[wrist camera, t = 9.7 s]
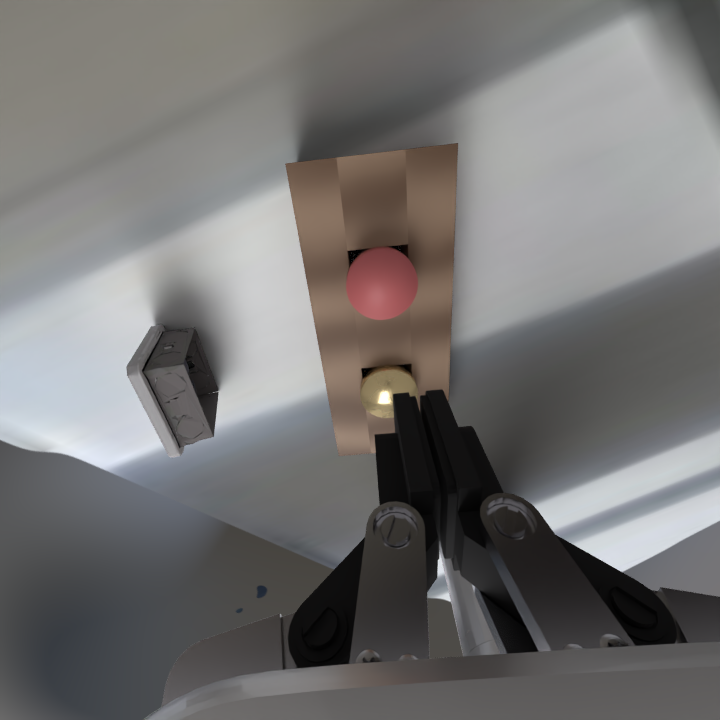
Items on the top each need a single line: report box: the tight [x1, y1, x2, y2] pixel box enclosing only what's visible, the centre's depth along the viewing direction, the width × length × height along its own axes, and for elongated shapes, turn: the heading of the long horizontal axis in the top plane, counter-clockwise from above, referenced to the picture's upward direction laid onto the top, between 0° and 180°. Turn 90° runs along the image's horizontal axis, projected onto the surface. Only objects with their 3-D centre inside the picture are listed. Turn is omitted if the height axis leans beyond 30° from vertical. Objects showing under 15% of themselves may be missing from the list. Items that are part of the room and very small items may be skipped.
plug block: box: [286, 143, 458, 456], centre depth 30 cm, size 26×11×5 cm, turn 6°
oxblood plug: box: [346, 246, 418, 320], centre depth 26 cm, size 5×5×6 cm
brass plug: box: [360, 364, 418, 418], centre depth 32 cm, size 5×5×6 cm
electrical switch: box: [127, 324, 218, 458], centre depth 31 cm, size 9×5×9 cm, turn 5°
